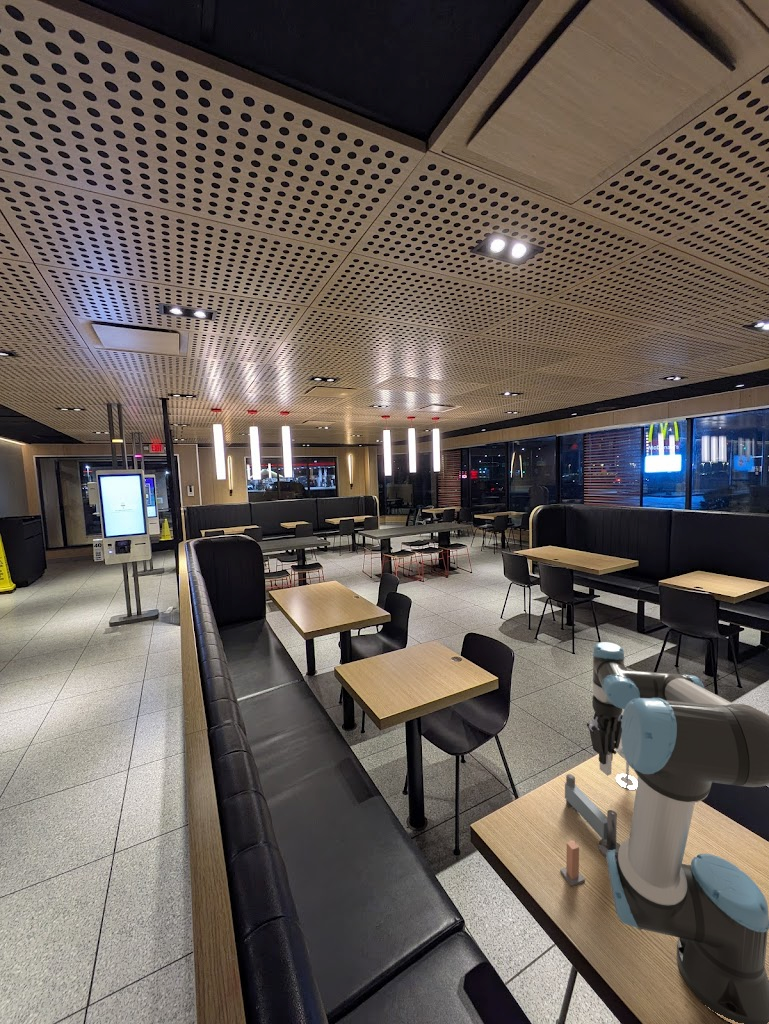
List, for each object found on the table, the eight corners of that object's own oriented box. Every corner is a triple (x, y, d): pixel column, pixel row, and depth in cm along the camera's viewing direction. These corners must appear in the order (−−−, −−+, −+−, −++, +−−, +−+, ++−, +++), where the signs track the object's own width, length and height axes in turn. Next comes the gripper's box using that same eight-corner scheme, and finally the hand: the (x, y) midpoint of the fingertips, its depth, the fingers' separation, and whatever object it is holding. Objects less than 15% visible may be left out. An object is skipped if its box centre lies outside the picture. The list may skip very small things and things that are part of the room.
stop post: (584, 881, 104) (585, 849, 103) (571, 886, 103) (571, 854, 101) (573, 866, 108) (573, 835, 106) (560, 871, 106) (560, 840, 105)
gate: (610, 843, 113) (611, 813, 112) (603, 845, 112) (603, 815, 111) (570, 800, 128) (571, 773, 126) (564, 802, 127) (564, 775, 126)
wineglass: (606, 778, 136) (608, 727, 133) (623, 769, 139) (625, 719, 137) (630, 795, 128) (632, 742, 126) (647, 786, 132) (649, 733, 130)
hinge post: (629, 857, 109) (630, 819, 108) (611, 864, 108) (612, 826, 106) (611, 837, 115) (612, 801, 114) (593, 843, 113) (594, 807, 112)
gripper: (612, 684, 124) (610, 756, 127) (579, 695, 119) (578, 769, 123) (635, 698, 117) (633, 773, 120) (601, 710, 113) (599, 788, 116)
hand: (605, 771), depth 122 cm, fingers closed
